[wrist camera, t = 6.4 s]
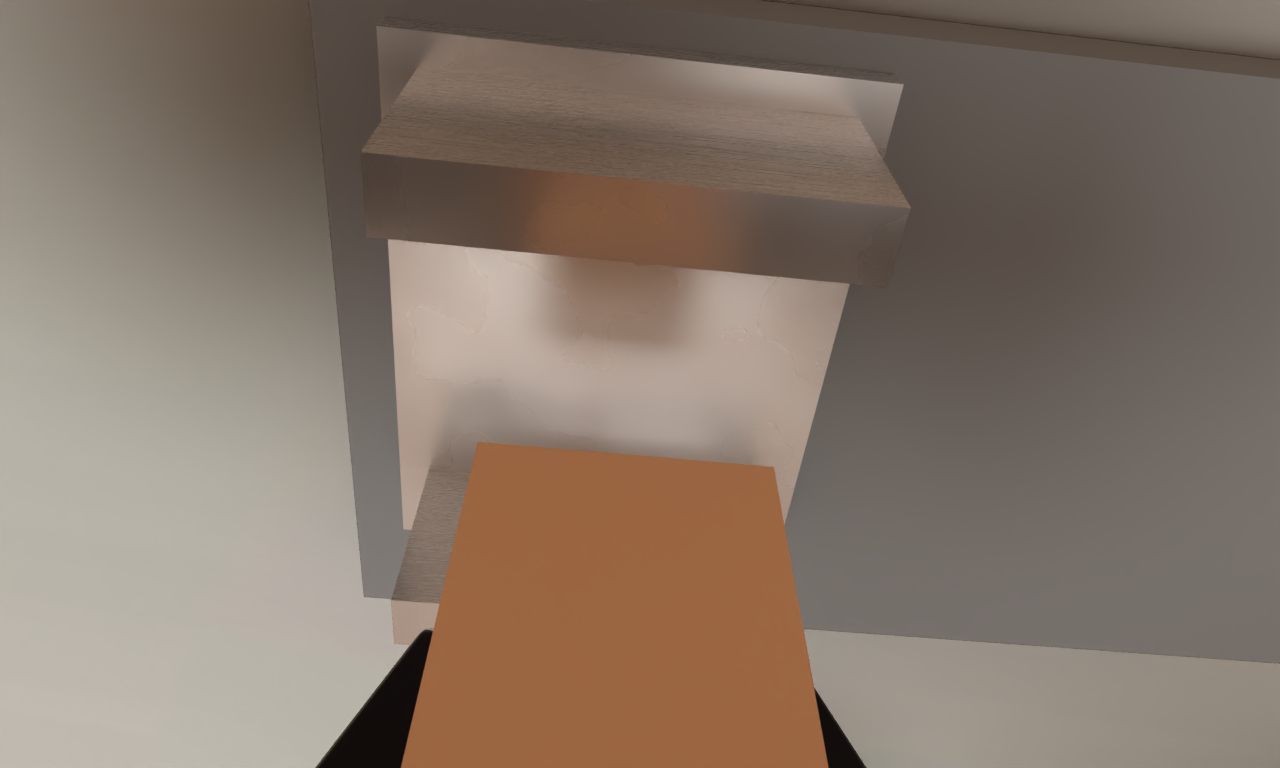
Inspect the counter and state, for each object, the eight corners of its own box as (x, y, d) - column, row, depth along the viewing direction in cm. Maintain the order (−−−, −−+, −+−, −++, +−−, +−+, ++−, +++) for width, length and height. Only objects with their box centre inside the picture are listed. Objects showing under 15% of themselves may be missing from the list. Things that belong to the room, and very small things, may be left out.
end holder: (772, 539, 18) (797, 692, 15) (409, 510, 17) (363, 662, 15) (895, 73, 13) (969, 169, 10) (384, 16, 12) (307, 100, 9)
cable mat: (1262, 621, 21) (1293, 664, 20) (377, 554, 20) (364, 597, 19) (1645, 102, 14) (1719, 129, 13) (331, -50, 13) (306, -33, 12)
